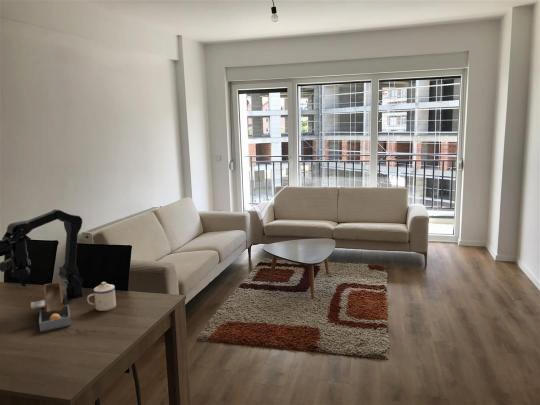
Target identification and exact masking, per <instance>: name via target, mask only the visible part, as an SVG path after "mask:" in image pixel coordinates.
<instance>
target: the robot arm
mask: <svg viewBox="0 0 540 405" xmlns="http://www.w3.org/2000/svg"><path fill="white" fill-rule="evenodd" d="M56 220H57V221H60V222H62V223H63V227H64V230H65V232H66V233H65V234H66V237H65V253H64V263H63V265H62V266H59V269H58V270H59V273H58V276H59V277H60V279H61V280H62V282H64V283H65V284H66V286H65V293H66V296H67V300H69V299H74V298H80V297H83V296H84V293H83V286H82V285H83V284H84V280H85V279H84V278H83V277H81V276H80V275H79V269H78V267H77V264H76V263H77V249H78V248H77V247H78V246H77V245H78V237H79V236H78V235H79V232H80V231H81V229H82V226H83V218H82V217H81V216H80V215H76V214H70V213H67V212H65V211H63V210H61V209H52V210H51V211H48V212H45V213H43V214H41V215H39V216H36V217H32V218H30V219H28V220H21V221H15V222H12V223H10V224H8V226H7V228H6V232H5V233H4V235H3V237H2V238H1V240H0V257H4V256H7V255H10V254H11V256H10V258H8V259H6V260H3V261H1V262H0V272H1V273H3V272H5V271H7V270H9V269H10V268H12V270H11V278H18V279H19V281H20V284H21V286H22V287H23V288H24V287H26V285H27V283H28V279H29V276H30V272H31V267H29V266H31V264H32V263H31V259H30V258H29V252H28V249H27V248H28V247H27V246H28V245H27V241H32V238H31V237H30V236H28V234H29V233H31V232H32V231H33V230H34V229H36V228H39V227H42V226H45V225H46V224H49V223H51V222H53V221H56Z"/></svg>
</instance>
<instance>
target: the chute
mask: <svg viewBox="0 0 540 405" xmlns="http://www.w3.org/2000/svg"><path fill="white" fill-rule="evenodd" d="M43 294H44V295H43V298H44V299H43V300H42V301H40V300H36V301H31V302H30V309H31V310H36V309H41V307H44V310H45V312H46V313H51V312H56V311H61V310H63V306H64V302H63V301H65V296H64V297H63V291H62V283H61V281H57V282H51V283H46V284H45V283H44V284H43Z"/></svg>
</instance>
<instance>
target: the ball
mask: <svg viewBox="0 0 540 405" xmlns="http://www.w3.org/2000/svg"><path fill="white" fill-rule="evenodd" d="M60 318H61V317H60V315H59V314H52V315H51V316H50V320H55V319H60Z"/></svg>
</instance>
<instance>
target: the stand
mask: <svg viewBox="0 0 540 405" xmlns="http://www.w3.org/2000/svg"><path fill="white" fill-rule="evenodd" d="M63 296H64V303H65V305H68V297H67V293H66V294H64V295H63ZM42 300H44V299H43V298H40V300H39V301H42ZM65 305H64V306H65ZM40 309H41V310H45V307H41V308H40Z"/></svg>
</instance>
